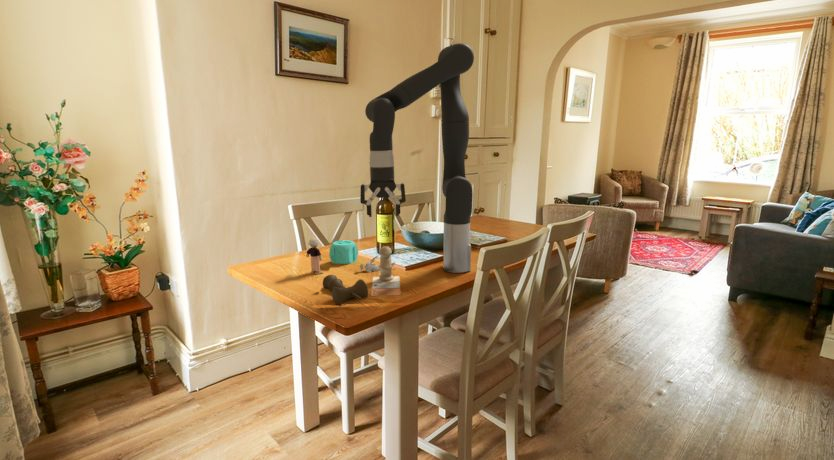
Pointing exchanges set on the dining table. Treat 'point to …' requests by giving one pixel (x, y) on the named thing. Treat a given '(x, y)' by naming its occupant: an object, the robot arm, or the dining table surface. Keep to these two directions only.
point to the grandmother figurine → (314, 256)
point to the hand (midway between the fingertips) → (383, 216)
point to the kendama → (345, 289)
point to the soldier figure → (372, 266)
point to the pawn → (385, 264)
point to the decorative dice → (343, 252)
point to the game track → (379, 291)
